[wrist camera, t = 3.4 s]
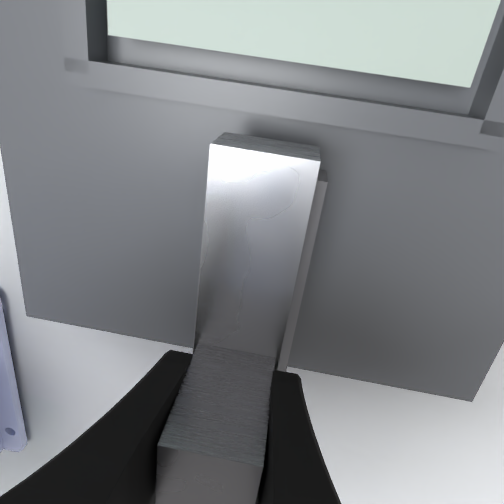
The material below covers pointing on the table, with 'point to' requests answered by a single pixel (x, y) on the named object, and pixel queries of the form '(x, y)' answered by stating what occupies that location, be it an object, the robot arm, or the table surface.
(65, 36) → the panel
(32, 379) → the table surface
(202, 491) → the brushed metal bar
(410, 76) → the cover
